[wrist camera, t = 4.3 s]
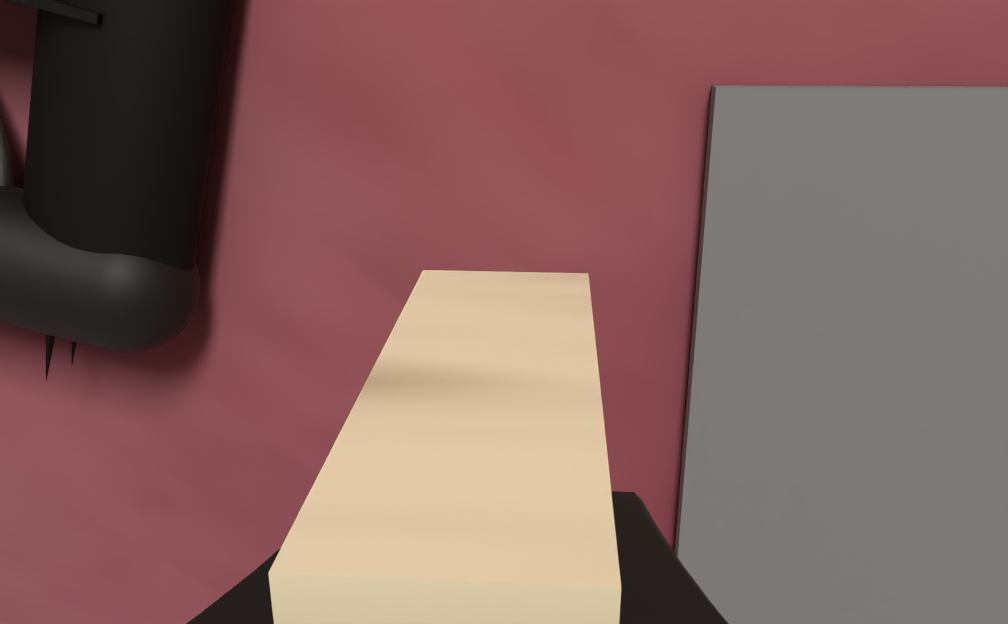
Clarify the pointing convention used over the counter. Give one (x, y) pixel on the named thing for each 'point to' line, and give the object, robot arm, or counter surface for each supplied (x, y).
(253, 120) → the counter surface
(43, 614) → the counter surface
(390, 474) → the light wooden block
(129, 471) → the counter surface
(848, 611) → the mat
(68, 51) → the door handle
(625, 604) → the robot arm
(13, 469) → the counter surface
